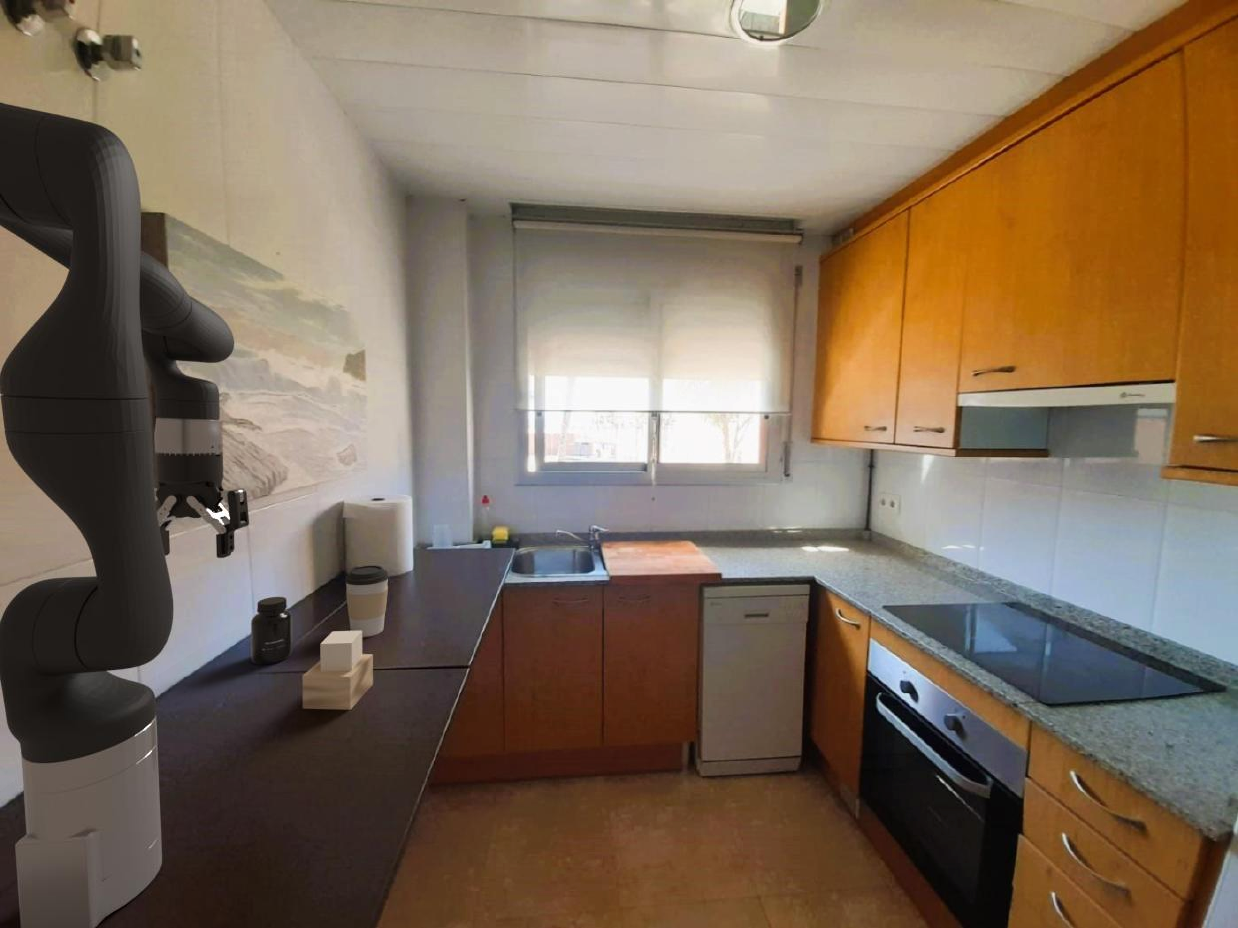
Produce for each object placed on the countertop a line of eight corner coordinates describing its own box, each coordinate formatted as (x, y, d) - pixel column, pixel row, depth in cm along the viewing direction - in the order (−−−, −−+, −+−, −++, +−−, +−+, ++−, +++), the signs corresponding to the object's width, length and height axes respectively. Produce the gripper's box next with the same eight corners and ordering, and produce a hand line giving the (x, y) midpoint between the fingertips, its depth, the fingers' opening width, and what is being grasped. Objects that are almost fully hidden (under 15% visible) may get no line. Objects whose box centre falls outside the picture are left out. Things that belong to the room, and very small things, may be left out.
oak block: (350, 710, 82) (350, 676, 82) (302, 709, 82) (302, 675, 81) (372, 684, 90) (372, 654, 90) (329, 683, 90) (329, 653, 89)
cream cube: (351, 670, 84) (351, 642, 83) (320, 671, 83) (320, 643, 82) (362, 656, 89) (362, 630, 88) (333, 657, 88) (332, 631, 87)
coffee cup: (395, 623, 117) (395, 562, 115) (378, 639, 108) (378, 574, 106) (357, 622, 116) (357, 561, 115) (337, 638, 107) (336, 573, 106)
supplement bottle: (271, 667, 94) (270, 608, 93) (242, 663, 95) (241, 604, 94) (300, 651, 101) (300, 596, 100) (273, 647, 102) (272, 592, 101)
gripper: (112, 449, 66) (117, 563, 68) (225, 452, 68) (228, 563, 70) (157, 446, 74) (160, 549, 75) (257, 449, 76) (259, 550, 77)
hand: (193, 556), depth 72 cm, fingers open, 8 cm apart
